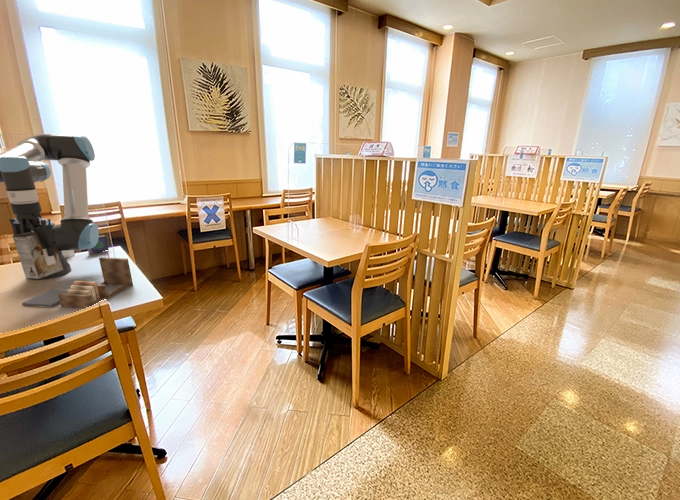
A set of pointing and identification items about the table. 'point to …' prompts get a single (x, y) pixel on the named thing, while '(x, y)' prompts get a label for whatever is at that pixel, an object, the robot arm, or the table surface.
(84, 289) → the offcut stack
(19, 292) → the table surface
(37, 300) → the rubber mat
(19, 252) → the coffee box
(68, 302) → the walnut rack
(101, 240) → the flask
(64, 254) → the jar
